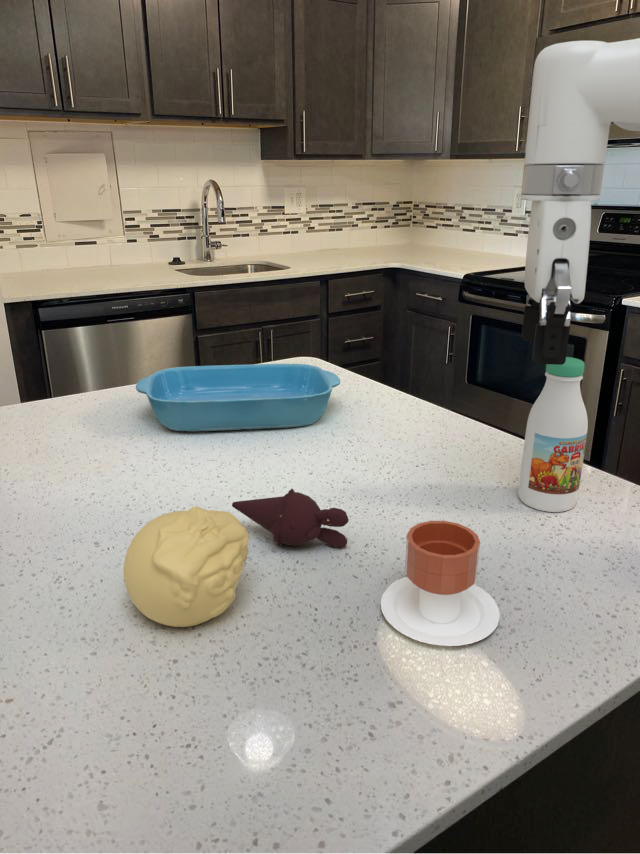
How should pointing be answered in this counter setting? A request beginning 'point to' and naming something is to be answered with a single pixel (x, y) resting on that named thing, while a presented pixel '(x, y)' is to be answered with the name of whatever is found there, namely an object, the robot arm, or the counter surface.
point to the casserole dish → (238, 396)
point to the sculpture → (186, 566)
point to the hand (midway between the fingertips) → (541, 351)
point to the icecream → (295, 519)
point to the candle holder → (440, 614)
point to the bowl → (442, 557)
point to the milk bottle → (555, 441)
